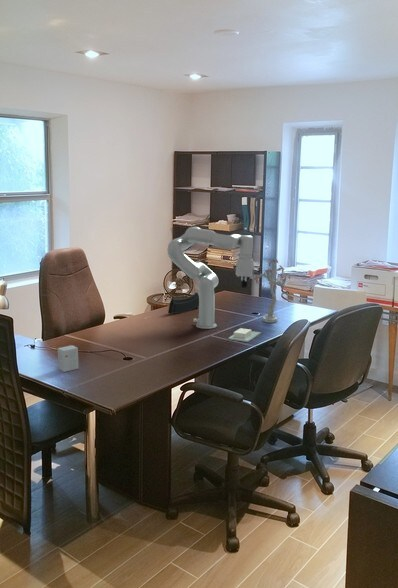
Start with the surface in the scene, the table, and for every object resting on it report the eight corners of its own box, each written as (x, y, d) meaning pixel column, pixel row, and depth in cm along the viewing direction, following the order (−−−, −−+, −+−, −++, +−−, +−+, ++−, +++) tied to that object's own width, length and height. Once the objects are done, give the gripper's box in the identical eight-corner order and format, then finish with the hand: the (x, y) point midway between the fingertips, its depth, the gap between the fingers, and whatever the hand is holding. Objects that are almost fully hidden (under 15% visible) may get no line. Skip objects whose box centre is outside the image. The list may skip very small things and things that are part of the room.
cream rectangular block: (244, 338, 331) (233, 336, 334) (251, 334, 340) (240, 332, 343) (245, 333, 330) (233, 332, 334) (251, 329, 339) (240, 328, 342)
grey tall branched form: (256, 313, 391) (258, 254, 383) (291, 316, 385) (294, 256, 377) (248, 324, 365) (250, 260, 357) (286, 327, 359) (289, 262, 351)
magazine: (168, 302, 381) (198, 283, 400) (165, 302, 383) (194, 283, 403) (174, 325, 388) (202, 305, 408) (170, 324, 390) (199, 305, 410)
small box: (73, 365, 284) (72, 344, 282) (78, 368, 280) (78, 347, 278) (58, 369, 279) (57, 348, 277) (63, 372, 275) (62, 350, 273)
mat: (228, 339, 331) (228, 337, 331) (241, 331, 349) (241, 329, 349) (247, 342, 326) (247, 340, 326) (260, 333, 344) (260, 332, 343)
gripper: (231, 256, 343) (230, 286, 347) (254, 258, 336) (253, 290, 340) (237, 254, 349) (235, 284, 353) (260, 257, 342) (258, 288, 346)
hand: (244, 287), depth 346 cm, fingers closed
